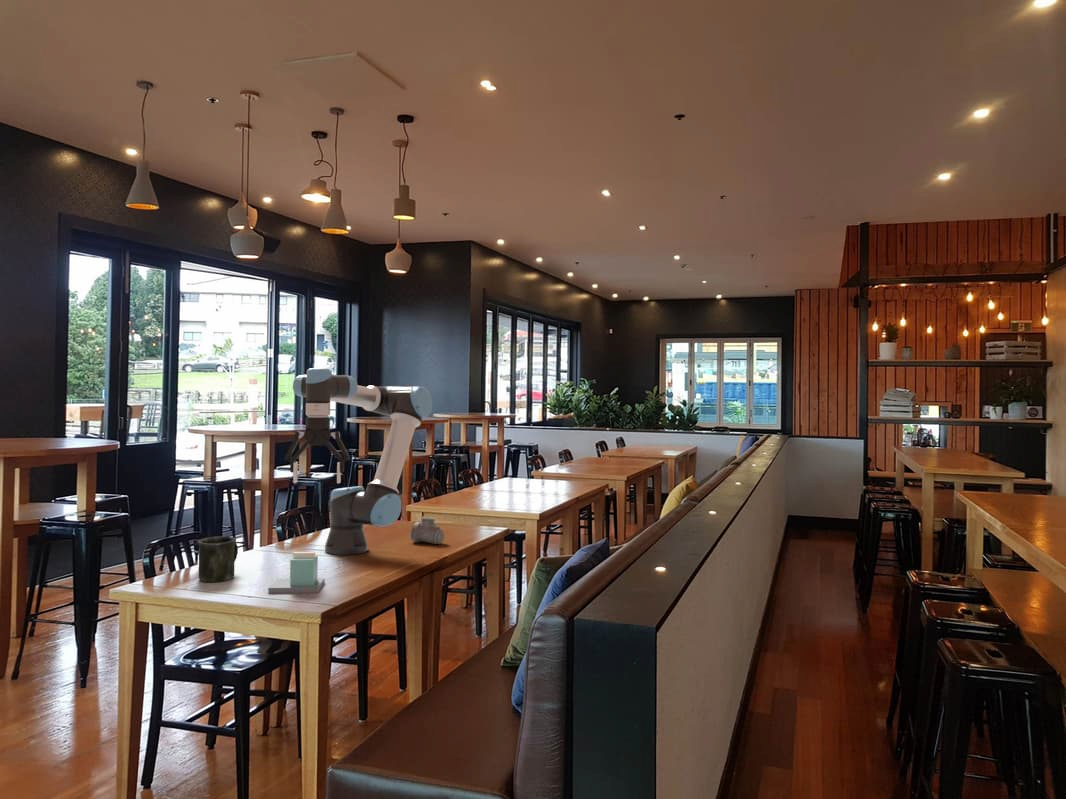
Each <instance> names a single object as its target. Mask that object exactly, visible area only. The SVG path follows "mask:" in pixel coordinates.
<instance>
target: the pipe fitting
mask: <svg viewBox="0 0 1066 799" xmlns="http://www.w3.org/2000/svg"><path fill="white" fill-rule="evenodd" d="M435 520H436V518H435V517H431V516H422V517H421V521H416V522H415V523H413V525H412V527H411V530H410V539H411V541H412V542H415V543H421V542H426V543H429V544H432V545H436V544H440V545H441V544H443V541H445V540H444V539H445V531H444V530H443V529H441V526H440V525H439V524H436V523H435Z"/></svg>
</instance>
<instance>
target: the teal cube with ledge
mask: <svg viewBox="0 0 1066 799" xmlns="http://www.w3.org/2000/svg"><path fill="white" fill-rule="evenodd" d="M292 554H293V557H292V558H291V559H290V560H289V561H290V565H289V566H290V572H289V573H290V576H289V578H290V586H313V585H314V584H315V583H316V581H317V578H318V559H319V558H318V557H319V554H316V551H293V553H292Z"/></svg>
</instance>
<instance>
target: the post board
mask: <svg viewBox="0 0 1066 799" xmlns="http://www.w3.org/2000/svg"><path fill="white" fill-rule="evenodd" d="M325 582H326V578H325V577H317V581H316V583H315V584H314V585H313V586H290V577H289V578H287V577H286V578H282V577H281V578H276V579H275V580H274V581H273V583H271V585H270V586H269V587H268V588H267V590H268V591H267V593H268V594H303V593H304V594H314V593H315V594H316V593H317V594H318V593H319V592H320V590H321V589H322V587H324V585H325Z"/></svg>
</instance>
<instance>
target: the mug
mask: <svg viewBox="0 0 1066 799" xmlns="http://www.w3.org/2000/svg"><path fill="white" fill-rule="evenodd" d="M236 541H237V538H235V537H233V536H211V537H205V538H201V539H199V540H198V541H197V544H198V580H199V581H200V582H203V581H204V583H218V582H219V583H220V582H225V581H229V580H232V579H233V578H234V577H235V561H236V560H237V557H238V552H239V548H238V544H237V543H236Z"/></svg>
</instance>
